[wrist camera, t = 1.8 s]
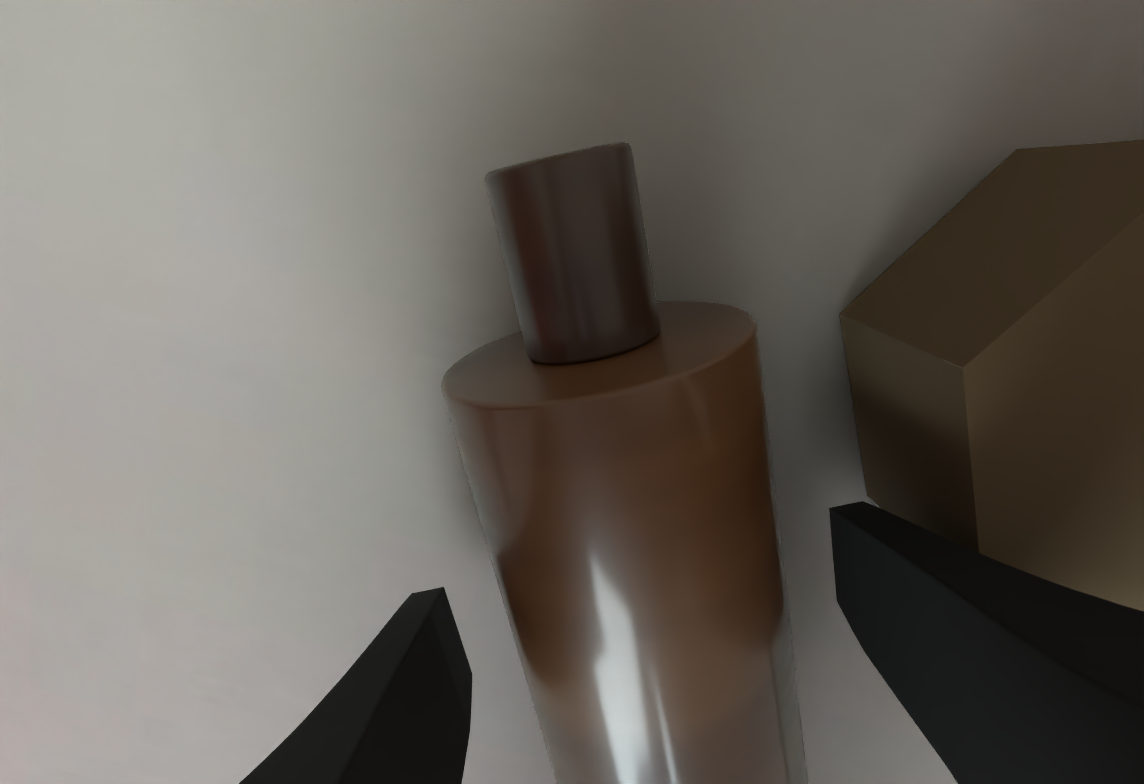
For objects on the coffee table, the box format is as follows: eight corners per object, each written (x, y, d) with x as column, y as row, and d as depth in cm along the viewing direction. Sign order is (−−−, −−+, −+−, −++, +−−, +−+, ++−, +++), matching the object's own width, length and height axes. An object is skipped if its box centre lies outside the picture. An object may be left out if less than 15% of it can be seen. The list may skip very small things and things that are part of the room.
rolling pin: (777, 786, 15) (869, 1028, 11) (594, 822, 15) (613, 1074, 11) (687, 133, 10) (790, 96, 6) (421, 192, 11) (333, 198, 6)
